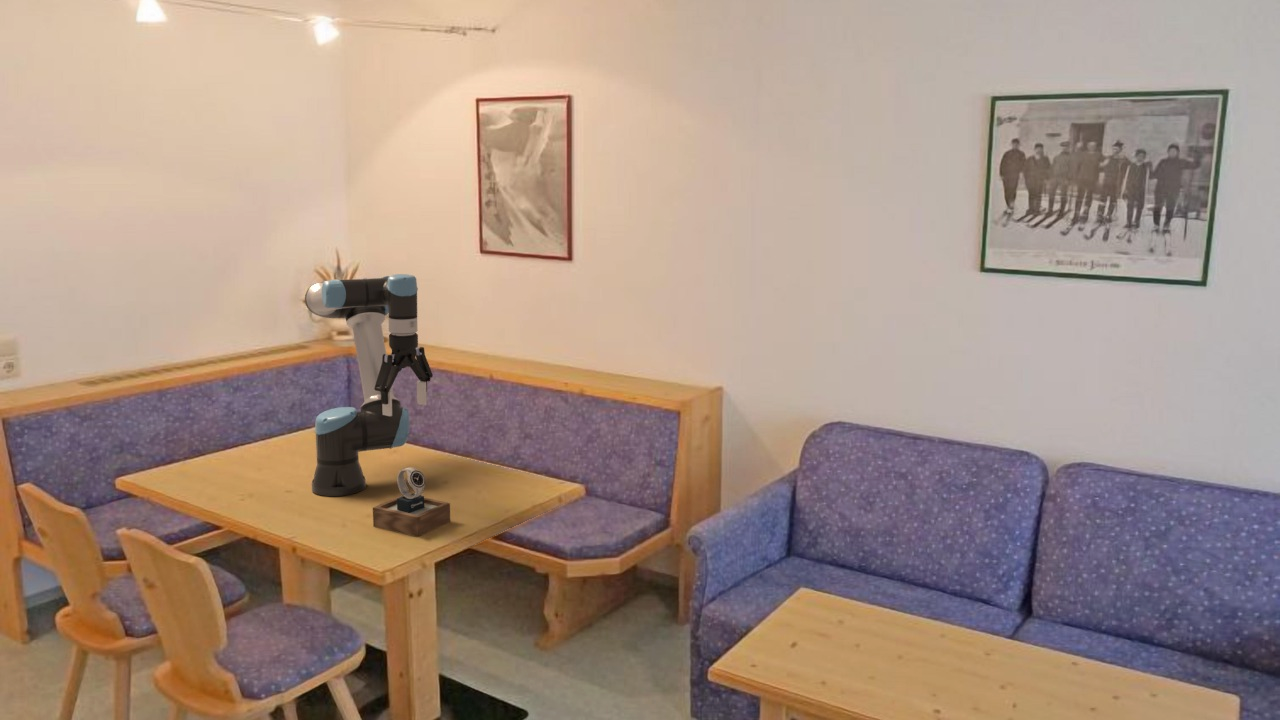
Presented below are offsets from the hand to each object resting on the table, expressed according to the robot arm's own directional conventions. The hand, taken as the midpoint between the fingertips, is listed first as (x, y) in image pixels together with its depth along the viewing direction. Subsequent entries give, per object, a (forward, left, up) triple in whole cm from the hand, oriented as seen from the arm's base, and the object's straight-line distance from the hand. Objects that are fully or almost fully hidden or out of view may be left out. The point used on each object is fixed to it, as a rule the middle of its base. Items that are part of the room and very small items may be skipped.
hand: (405, 409), depth 271 cm
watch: (+9, -9, -24) cm, 27 cm away
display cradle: (+9, -9, -28) cm, 31 cm away
